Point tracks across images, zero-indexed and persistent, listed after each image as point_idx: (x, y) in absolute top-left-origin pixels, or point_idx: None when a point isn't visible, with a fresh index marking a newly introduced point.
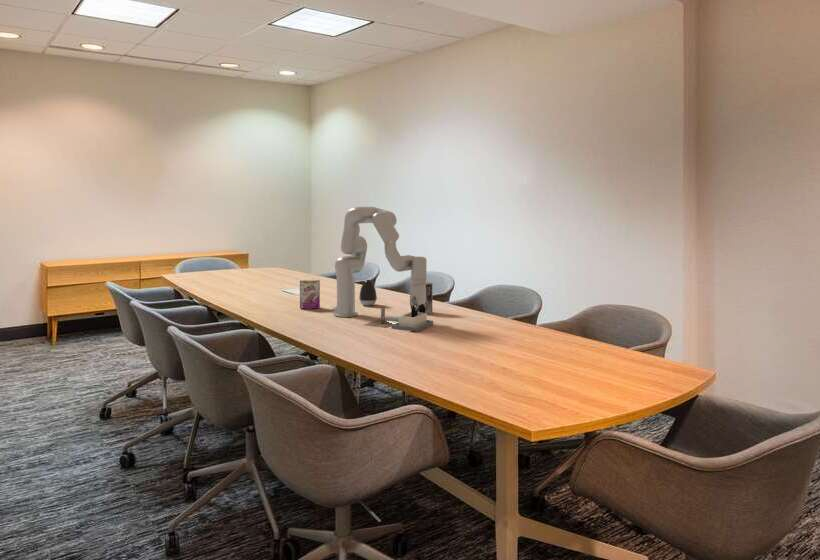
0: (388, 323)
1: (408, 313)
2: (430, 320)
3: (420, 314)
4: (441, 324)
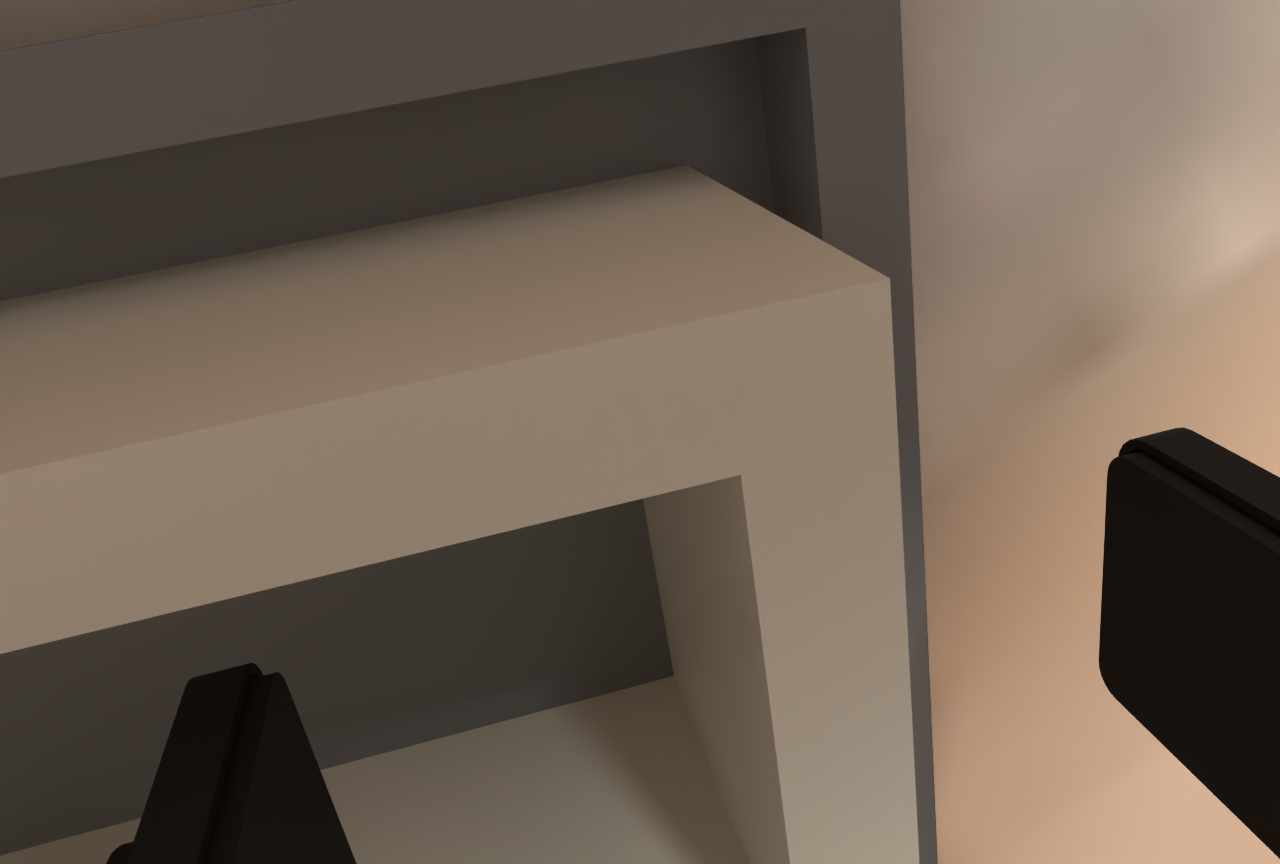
0: None
1: (188, 539)
2: (928, 815)
3: (772, 836)
4: (1054, 849)
